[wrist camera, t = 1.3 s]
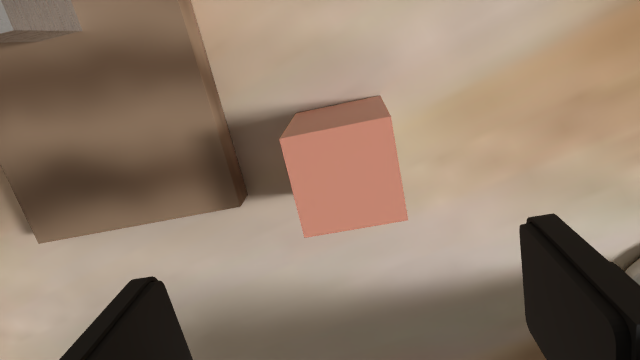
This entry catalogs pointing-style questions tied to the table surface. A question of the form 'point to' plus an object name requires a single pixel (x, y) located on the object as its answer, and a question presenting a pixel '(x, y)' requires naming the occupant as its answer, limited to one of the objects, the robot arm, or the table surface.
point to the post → (36, 20)
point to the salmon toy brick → (344, 167)
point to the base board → (115, 122)
